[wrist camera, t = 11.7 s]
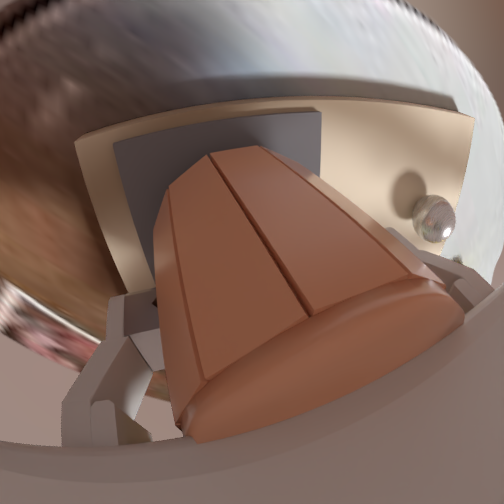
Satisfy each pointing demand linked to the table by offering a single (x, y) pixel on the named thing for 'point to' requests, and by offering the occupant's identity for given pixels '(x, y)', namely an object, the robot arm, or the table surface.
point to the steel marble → (433, 218)
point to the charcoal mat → (196, 147)
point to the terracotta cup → (280, 294)
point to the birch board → (331, 167)
